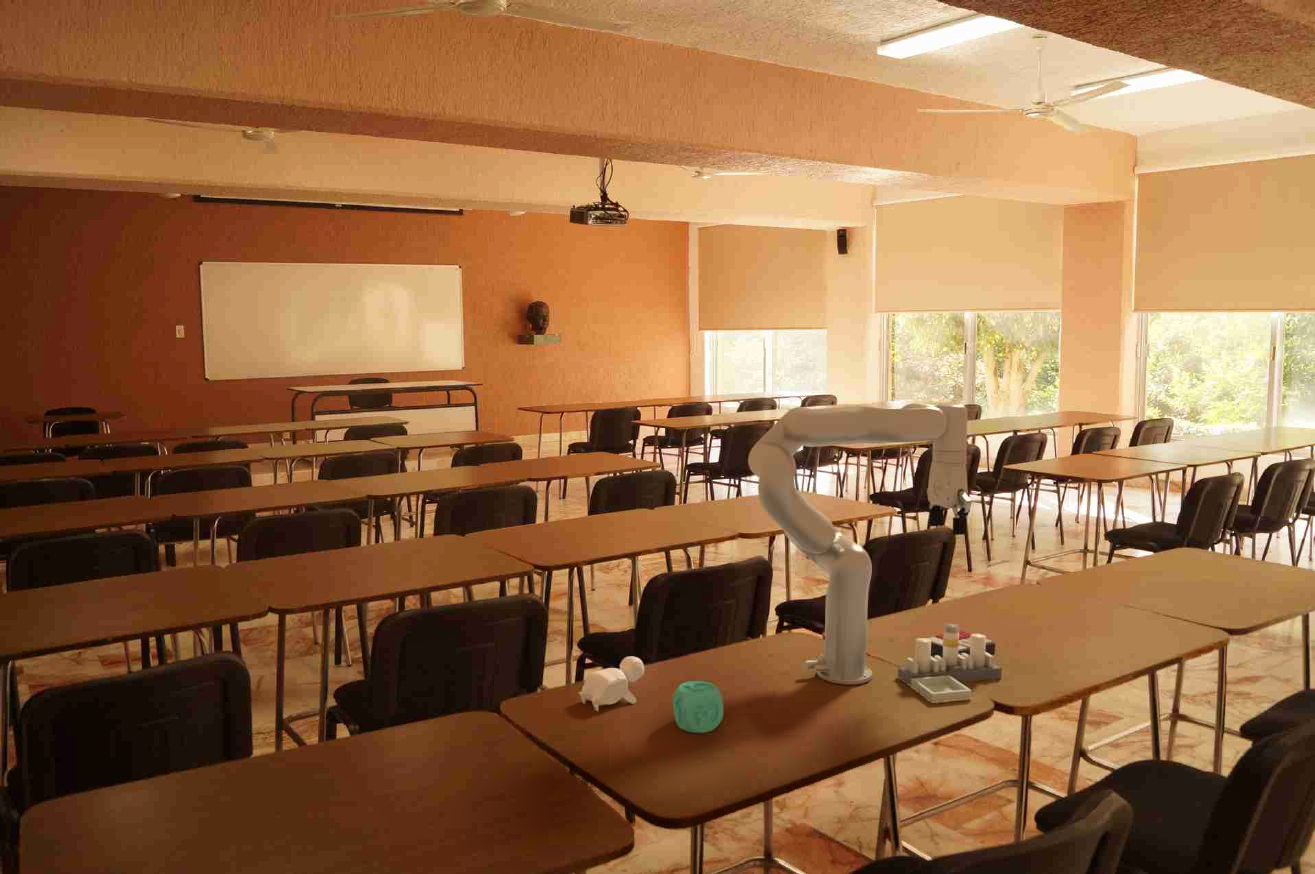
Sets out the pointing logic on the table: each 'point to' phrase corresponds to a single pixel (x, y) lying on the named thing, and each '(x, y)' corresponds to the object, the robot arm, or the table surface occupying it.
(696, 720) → the decorative dice
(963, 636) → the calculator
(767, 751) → the table surface
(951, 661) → the fuse
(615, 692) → the white animal figurine
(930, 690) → the tray
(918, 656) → the holder
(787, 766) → the table surface
